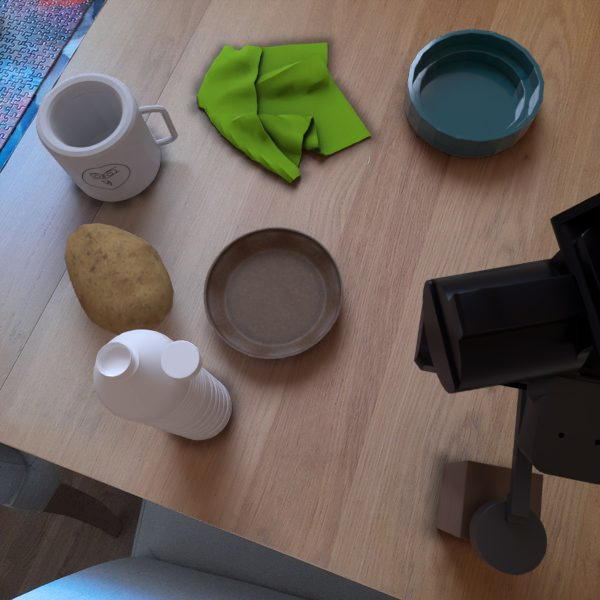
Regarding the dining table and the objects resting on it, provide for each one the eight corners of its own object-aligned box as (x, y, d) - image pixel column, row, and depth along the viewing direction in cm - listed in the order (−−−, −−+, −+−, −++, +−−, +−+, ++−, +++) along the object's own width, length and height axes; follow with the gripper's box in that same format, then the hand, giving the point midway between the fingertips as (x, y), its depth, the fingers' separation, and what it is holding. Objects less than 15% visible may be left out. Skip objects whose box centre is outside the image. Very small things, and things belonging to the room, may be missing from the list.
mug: (79, 212, 67) (37, 168, 57) (70, 136, 70) (29, 82, 61) (191, 187, 67) (167, 138, 57) (177, 112, 70) (153, 54, 61)
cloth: (207, 39, 74) (203, 24, 71) (377, 45, 72) (378, 31, 69) (182, 178, 67) (177, 167, 65) (367, 188, 66) (368, 178, 63)
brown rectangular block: (505, 475, 55) (543, 474, 45) (500, 541, 54) (538, 554, 44) (443, 463, 56) (467, 459, 46) (436, 527, 54) (459, 538, 44)
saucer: (200, 250, 64) (194, 240, 62) (327, 224, 65) (326, 214, 62) (219, 376, 60) (213, 372, 57) (355, 348, 60) (356, 342, 57)
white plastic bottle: (168, 440, 58) (53, 410, 34) (173, 377, 60) (69, 308, 36) (252, 441, 58) (195, 412, 34) (255, 378, 60) (203, 308, 36)
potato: (130, 222, 66) (103, 188, 58) (204, 307, 62) (187, 283, 55) (62, 275, 64) (25, 248, 57) (134, 366, 61) (106, 349, 53)
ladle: (533, 577, 42) (552, 586, 38) (465, 562, 43) (478, 569, 39) (548, 368, 47) (566, 358, 43) (487, 357, 47) (500, 346, 44)
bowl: (536, 61, 70) (548, 37, 66) (527, 168, 65) (539, 149, 61) (412, 47, 71) (417, 22, 68) (395, 150, 67) (399, 131, 63)
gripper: (420, 432, 29) (390, 448, 44) (808, 509, 27) (640, 499, 42) (447, 237, 33) (411, 314, 47) (796, 293, 30) (644, 355, 45)
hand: (522, 370), depth 45 cm, fingers closed on ladle
